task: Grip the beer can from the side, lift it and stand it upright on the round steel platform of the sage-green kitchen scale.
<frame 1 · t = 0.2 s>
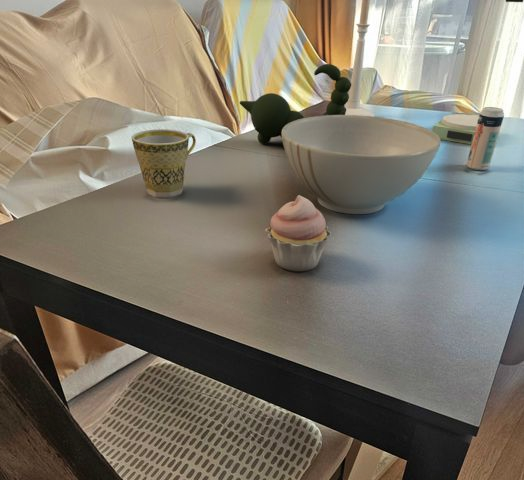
hand: (520, 0, 91), 31 cm above the table, tool pointing down, fingers open, 13 cm apart
candlestick: (351, 117, 148), on the table
toy figurine: (291, 146, 122), on the table
decorative bowl: (350, 202, 94), on the table
kitchen scale: (464, 136, 133), on the table
ceramic cup: (171, 190, 97), on the table
cupcake: (295, 263, 74), on the table
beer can: (476, 168, 112), on the table
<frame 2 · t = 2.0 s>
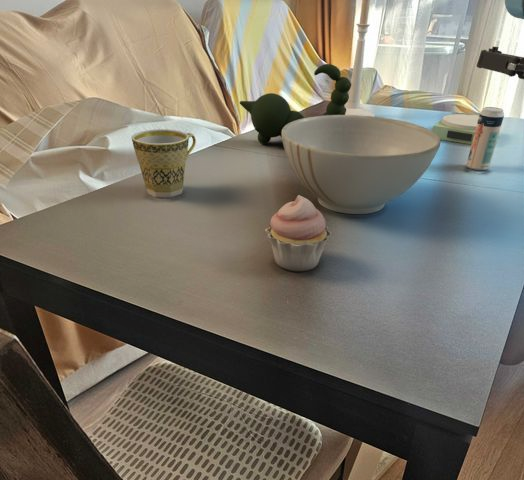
nothing on the table moved.
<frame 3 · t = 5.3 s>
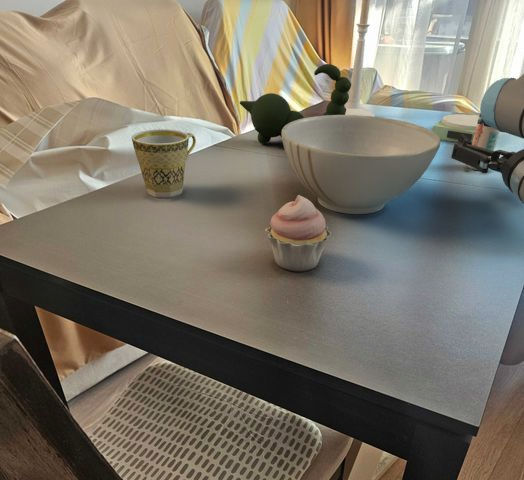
hand: (493, 142, 103), 7 cm above the table, tool horizontal, fingers open, 13 cm apart
nothing on the table moved.
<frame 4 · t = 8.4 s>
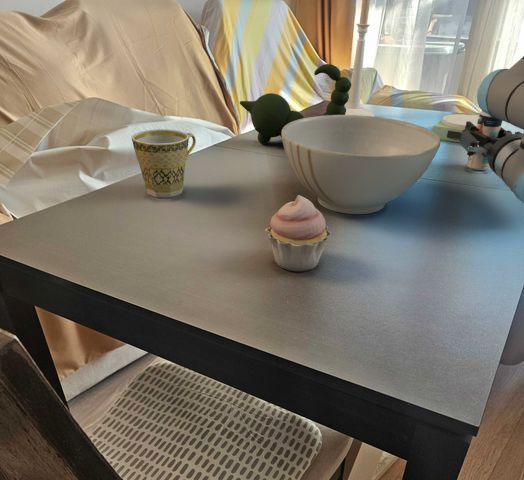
hand: (479, 128, 111), 7 cm above the table, tool horizontal, fingers closed on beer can, 5 cm apart
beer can: (476, 168, 112), on the table, touching gripper
everything else where it was.
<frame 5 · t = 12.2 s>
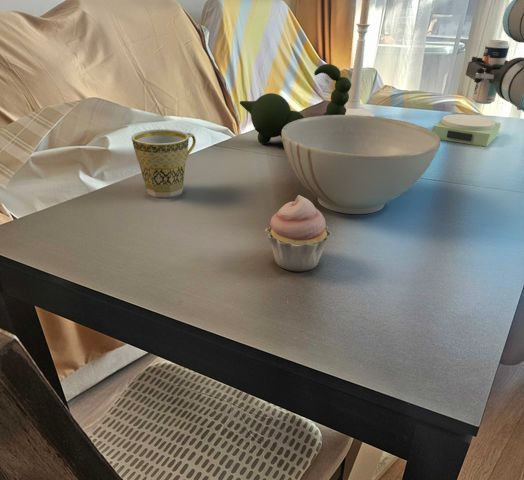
hand: (484, 64, 115), 18 cm above the table, tool horizontal, fingers closed on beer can, 5 cm apart
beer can: (482, 103, 116), point 11 cm above the table, touching gripper
everything else where it was.
when the fingers open (11 cm above the table, at t = 16.2 s): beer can stays where it is, resting on kitchen scale.
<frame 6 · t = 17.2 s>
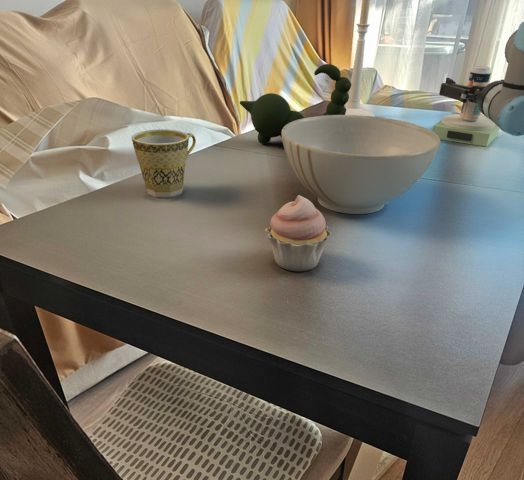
hand: (473, 84, 129), 12 cm above the table, tool horizontal, fingers open, 13 cm apart
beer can: (468, 120, 131), point 4 cm above the table, touching kitchen scale
everything else where it was.
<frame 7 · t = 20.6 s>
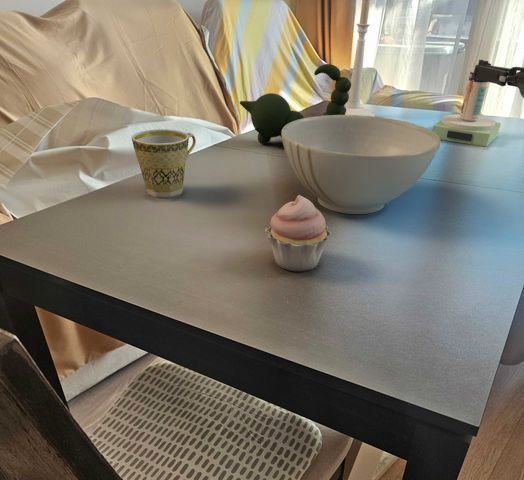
hand: (509, 67, 115), 17 cm above the table, tool horizontal, fingers open, 13 cm apart
nothing on the table moved.
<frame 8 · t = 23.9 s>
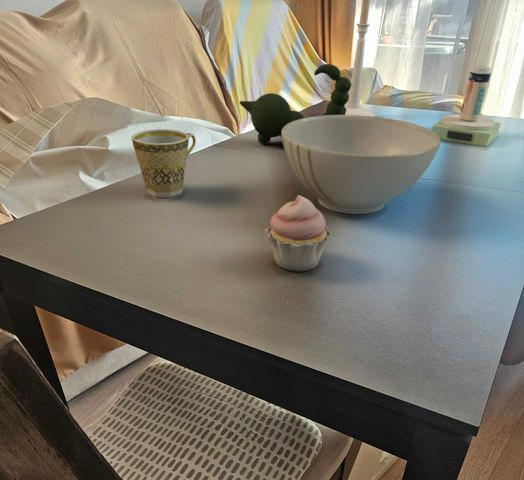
nothing on the table moved.
at the end: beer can inside the target area on the kitchen scale (0.0 cm from its centre), point 3.8 cm above the kitchen scale's base; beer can tilted 0°; the gripper is holding nothing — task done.
